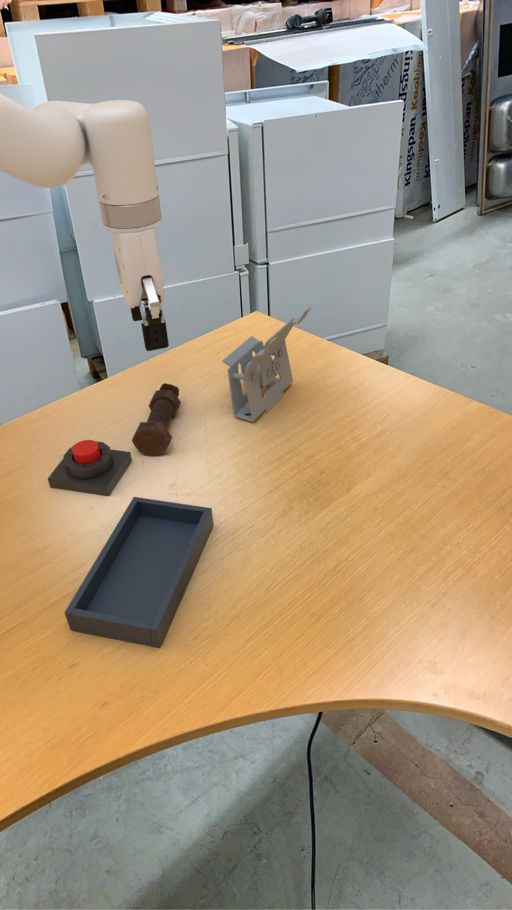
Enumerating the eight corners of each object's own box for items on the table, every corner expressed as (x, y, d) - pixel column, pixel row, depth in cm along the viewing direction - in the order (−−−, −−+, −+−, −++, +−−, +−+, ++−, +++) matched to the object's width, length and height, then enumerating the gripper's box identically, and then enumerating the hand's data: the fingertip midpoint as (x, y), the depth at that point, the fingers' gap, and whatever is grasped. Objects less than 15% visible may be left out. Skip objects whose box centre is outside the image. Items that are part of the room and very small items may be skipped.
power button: (70, 463, 91) (67, 453, 90) (81, 448, 93) (79, 438, 92) (93, 466, 90) (91, 456, 89) (104, 451, 93) (102, 441, 92)
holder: (70, 630, 72) (64, 612, 70) (137, 514, 86) (133, 496, 85) (160, 648, 70) (156, 630, 68) (213, 525, 84) (211, 507, 82)
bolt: (177, 409, 109) (158, 463, 97) (149, 396, 108) (127, 449, 96) (191, 383, 106) (174, 435, 94) (162, 369, 105) (141, 420, 92)
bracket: (273, 430, 100) (270, 342, 91) (219, 413, 104) (211, 328, 95) (310, 389, 109) (311, 305, 100) (259, 376, 113) (255, 294, 104)
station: (50, 487, 91) (44, 468, 89) (76, 453, 98) (71, 434, 95) (109, 496, 89) (104, 476, 87) (132, 460, 96) (128, 441, 93)
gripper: (92, 197, 89) (114, 313, 99) (112, 238, 76) (135, 366, 86) (146, 189, 90) (162, 304, 101) (175, 228, 77) (190, 355, 88)
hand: (150, 333), depth 94 cm, fingers open, 9 cm apart
